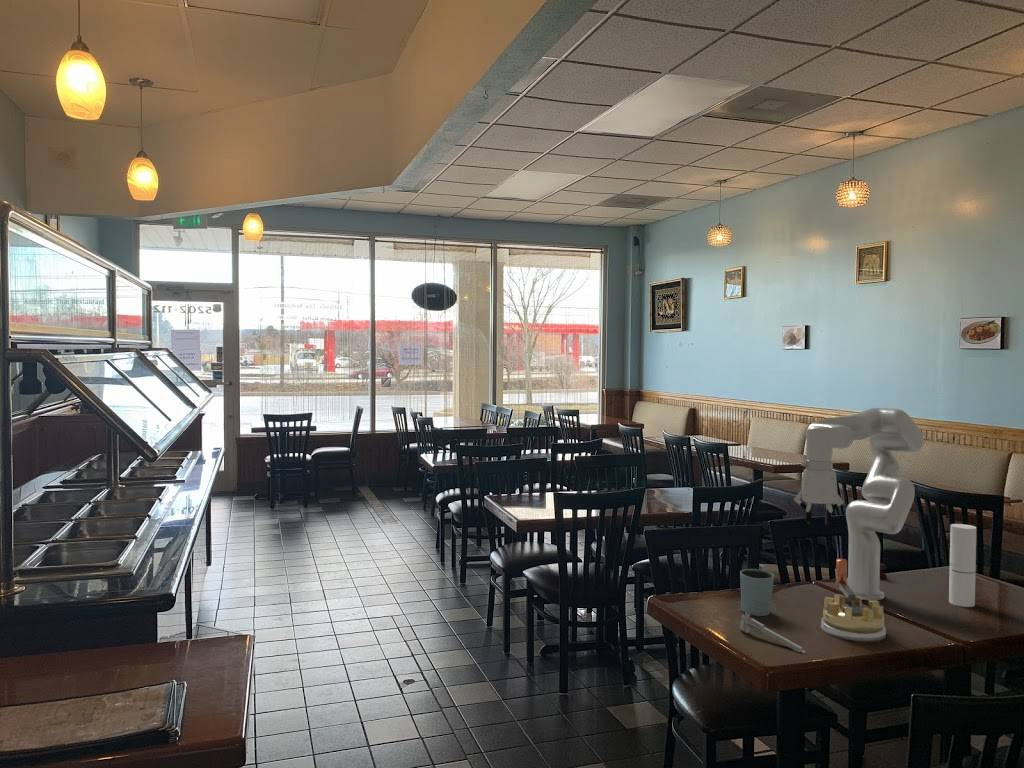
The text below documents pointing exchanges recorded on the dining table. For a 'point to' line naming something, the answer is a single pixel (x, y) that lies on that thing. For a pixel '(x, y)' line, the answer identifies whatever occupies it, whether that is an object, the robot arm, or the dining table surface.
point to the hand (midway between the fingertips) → (818, 523)
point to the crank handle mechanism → (851, 607)
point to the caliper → (766, 632)
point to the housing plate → (853, 634)
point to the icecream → (882, 575)
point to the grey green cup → (756, 591)
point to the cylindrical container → (962, 565)
